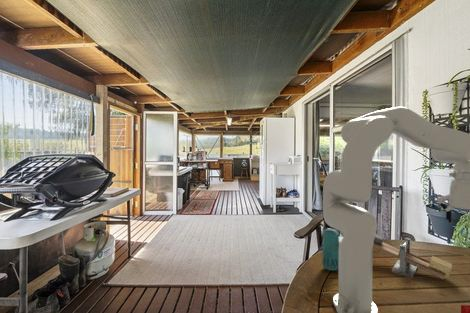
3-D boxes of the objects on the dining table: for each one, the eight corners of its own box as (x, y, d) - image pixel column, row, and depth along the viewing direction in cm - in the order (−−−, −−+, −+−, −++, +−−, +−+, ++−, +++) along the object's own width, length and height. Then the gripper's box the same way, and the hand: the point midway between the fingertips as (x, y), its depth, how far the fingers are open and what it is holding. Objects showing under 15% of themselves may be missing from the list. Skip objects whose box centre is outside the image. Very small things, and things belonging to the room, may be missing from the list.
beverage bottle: (320, 272, 98) (321, 223, 98) (323, 265, 104) (323, 218, 104) (338, 275, 95) (338, 225, 95) (339, 268, 101) (340, 220, 101)
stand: (412, 278, 93) (413, 249, 93) (391, 272, 98) (392, 244, 98) (417, 266, 103) (418, 239, 103) (398, 261, 108) (398, 235, 107)
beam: (443, 279, 89) (448, 267, 88) (363, 242, 108) (366, 232, 107) (445, 272, 95) (449, 260, 94) (368, 238, 113) (370, 228, 112)
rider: (448, 276, 89) (451, 268, 89) (428, 267, 93) (431, 259, 93) (449, 272, 93) (452, 264, 92) (429, 263, 97) (432, 255, 96)
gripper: (436, 176, 90) (435, 222, 91) (506, 179, 78) (504, 232, 79) (438, 174, 96) (437, 217, 96) (503, 177, 84) (502, 227, 84)
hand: (467, 224), depth 87 cm, fingers open, 9 cm apart
